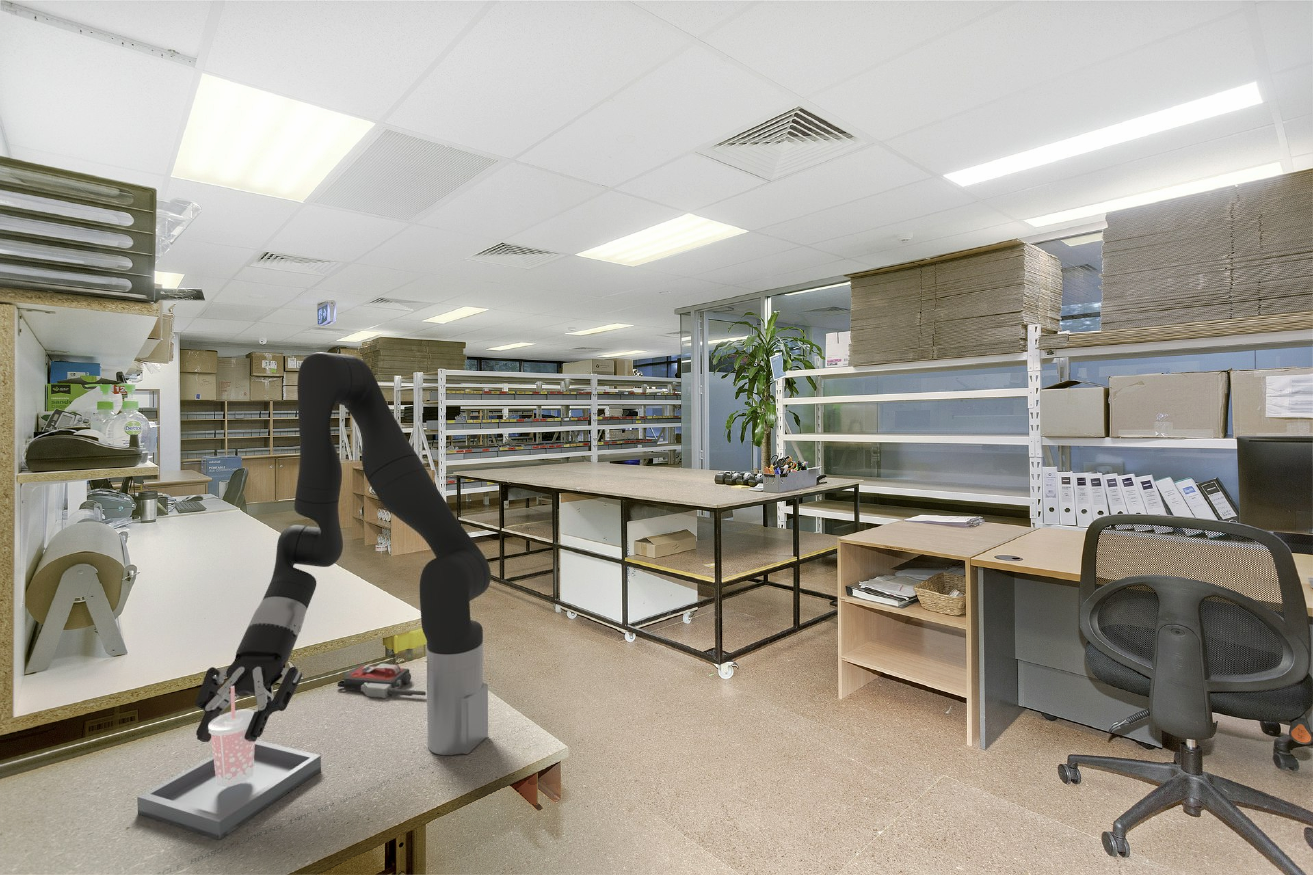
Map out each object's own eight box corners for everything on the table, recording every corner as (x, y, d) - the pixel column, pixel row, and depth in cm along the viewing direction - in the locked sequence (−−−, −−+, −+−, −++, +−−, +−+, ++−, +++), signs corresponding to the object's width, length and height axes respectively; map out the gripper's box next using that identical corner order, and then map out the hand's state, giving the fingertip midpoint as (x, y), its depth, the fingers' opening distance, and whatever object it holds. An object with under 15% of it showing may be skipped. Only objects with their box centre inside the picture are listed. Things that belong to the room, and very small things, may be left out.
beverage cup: (268, 764, 92) (266, 677, 91) (241, 790, 86) (238, 696, 85) (229, 764, 92) (226, 677, 91) (199, 790, 85) (196, 696, 85)
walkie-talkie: (329, 695, 119) (422, 703, 116) (329, 674, 118) (422, 681, 116) (357, 676, 127) (444, 683, 125) (356, 656, 127) (444, 662, 125)
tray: (321, 770, 94) (320, 755, 94) (219, 839, 78) (219, 821, 78) (246, 751, 98) (246, 737, 98) (137, 813, 83) (137, 796, 83)
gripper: (217, 621, 95) (160, 733, 83) (308, 621, 95) (264, 732, 84) (240, 640, 100) (190, 748, 89) (326, 640, 101) (287, 746, 90)
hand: (226, 739), depth 87 cm, fingers closed on beverage cup, 6 cm apart
